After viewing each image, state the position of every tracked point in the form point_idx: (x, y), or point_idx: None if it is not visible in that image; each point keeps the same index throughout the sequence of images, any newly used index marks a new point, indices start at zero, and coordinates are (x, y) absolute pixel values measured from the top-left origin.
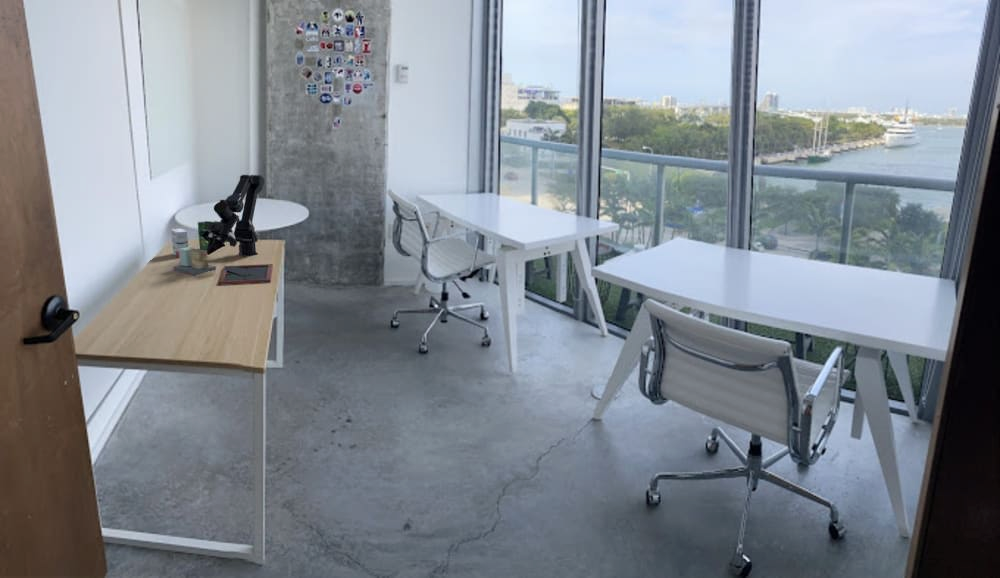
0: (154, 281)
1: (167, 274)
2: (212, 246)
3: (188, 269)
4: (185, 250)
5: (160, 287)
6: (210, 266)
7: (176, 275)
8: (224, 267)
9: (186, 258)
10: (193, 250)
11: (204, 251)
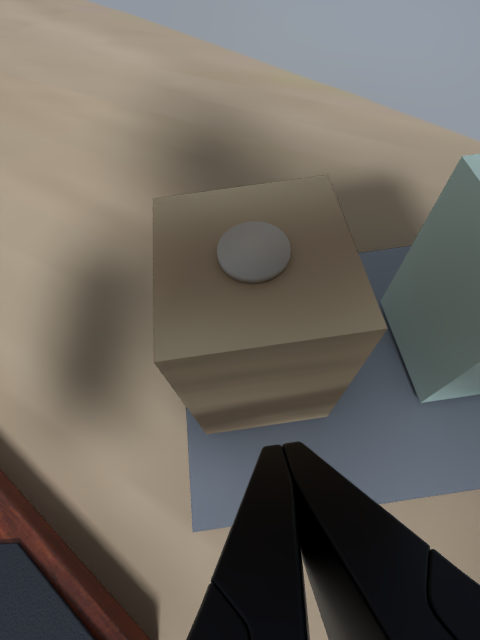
0: (254, 118)
1: (354, 196)
2: (196, 616)
3: None
4: (463, 157)
5: (130, 107)
6: (237, 481)
7: None
8: (94, 617)
9: (412, 250)
10: None
11: (159, 313)
